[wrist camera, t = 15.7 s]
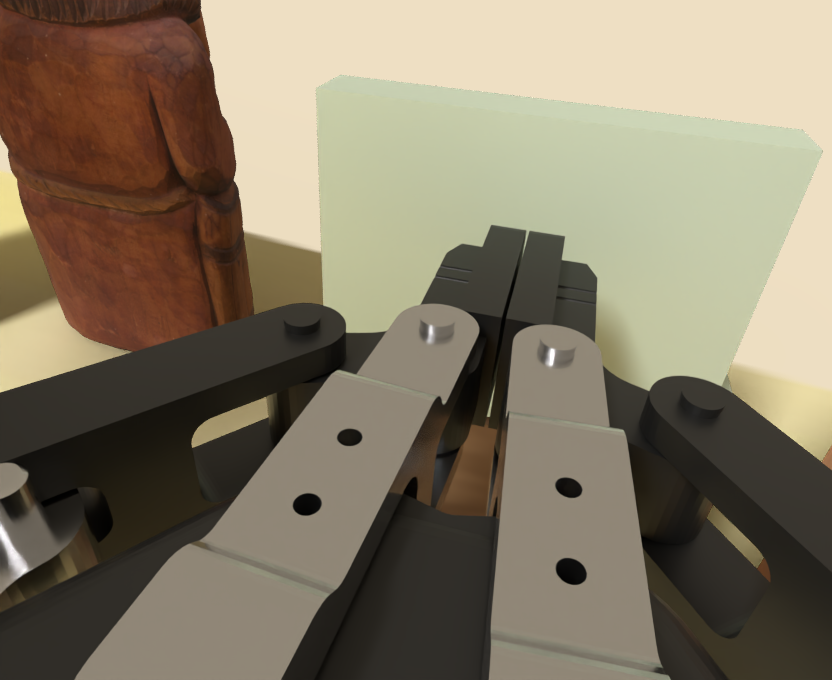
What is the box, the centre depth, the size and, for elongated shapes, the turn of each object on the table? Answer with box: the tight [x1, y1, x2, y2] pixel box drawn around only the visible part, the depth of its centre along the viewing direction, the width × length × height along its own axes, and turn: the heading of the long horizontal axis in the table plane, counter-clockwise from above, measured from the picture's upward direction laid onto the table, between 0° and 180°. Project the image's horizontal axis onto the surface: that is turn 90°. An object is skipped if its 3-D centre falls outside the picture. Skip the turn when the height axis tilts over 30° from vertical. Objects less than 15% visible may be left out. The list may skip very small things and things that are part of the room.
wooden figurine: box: [0, 0, 254, 352], centre depth 27 cm, size 12×6×18 cm, turn 70°
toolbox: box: [440, 417, 650, 589], centre depth 21 cm, size 12×20×7 cm, turn 165°
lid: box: [316, 75, 823, 417], centre depth 20 cm, size 12×13×8 cm
